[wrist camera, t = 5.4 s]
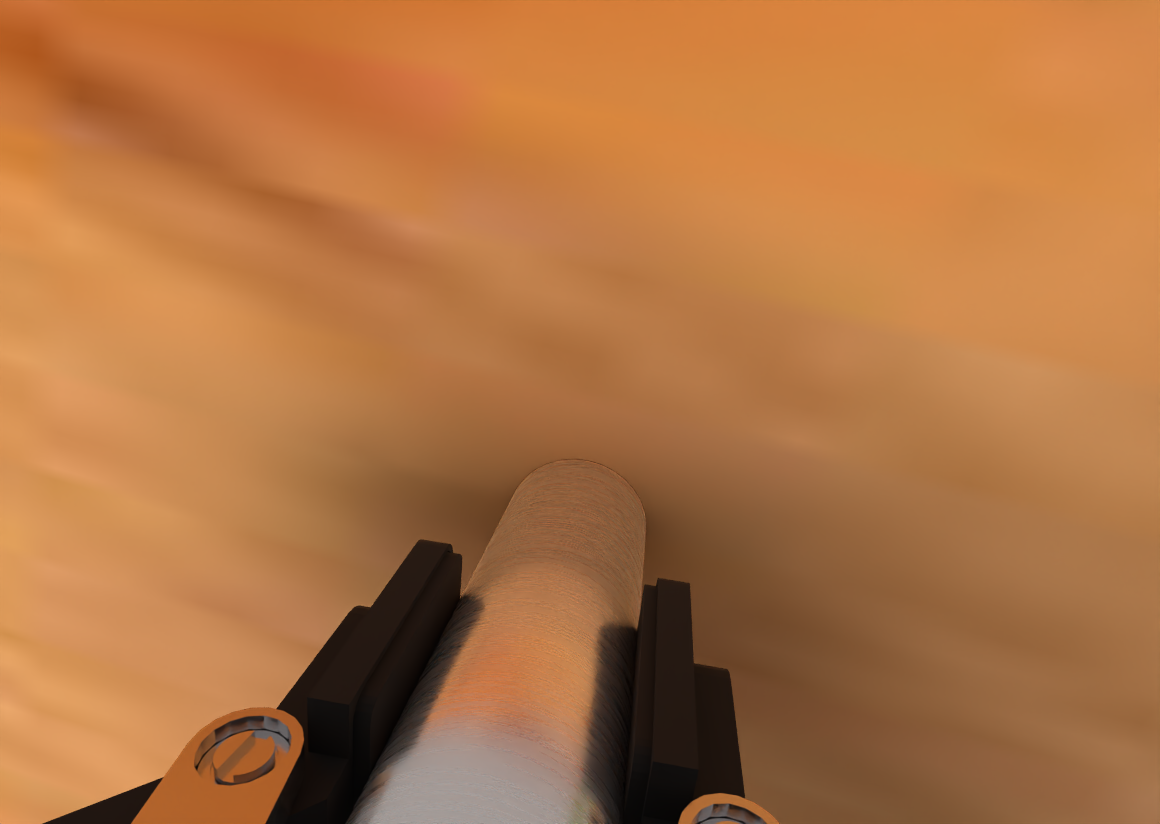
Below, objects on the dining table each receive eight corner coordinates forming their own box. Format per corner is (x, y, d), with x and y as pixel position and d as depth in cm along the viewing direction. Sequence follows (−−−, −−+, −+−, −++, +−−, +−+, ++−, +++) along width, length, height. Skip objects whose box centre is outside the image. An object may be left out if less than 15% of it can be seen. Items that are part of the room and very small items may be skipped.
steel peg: (655, 470, 15) (612, 1323, 4) (636, 594, 16) (555, 1553, 5) (513, 449, 15) (76, 1184, 4) (503, 572, 16) (131, 1431, 5)
